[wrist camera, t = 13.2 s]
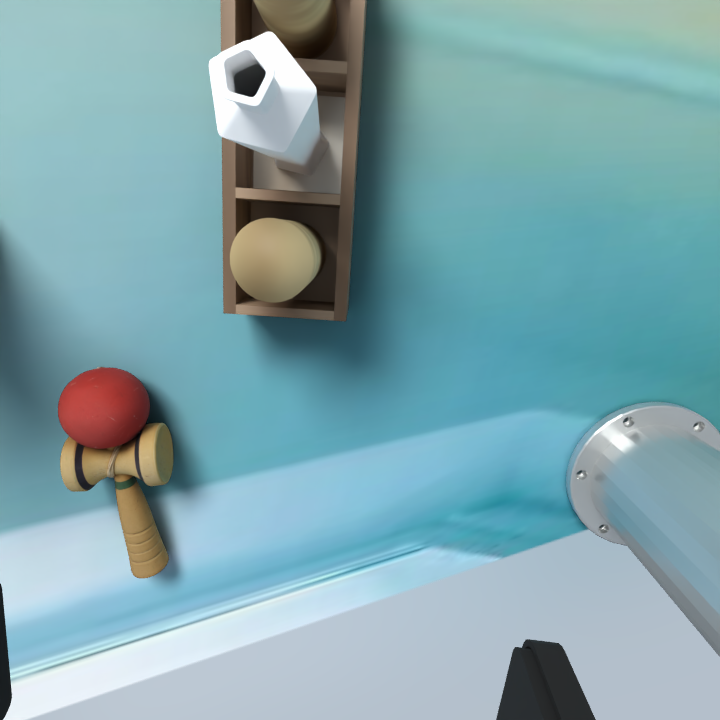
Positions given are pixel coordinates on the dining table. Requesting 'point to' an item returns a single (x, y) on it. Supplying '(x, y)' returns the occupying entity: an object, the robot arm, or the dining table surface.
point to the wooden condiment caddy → (290, 189)
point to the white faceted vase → (268, 103)
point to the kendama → (117, 454)
